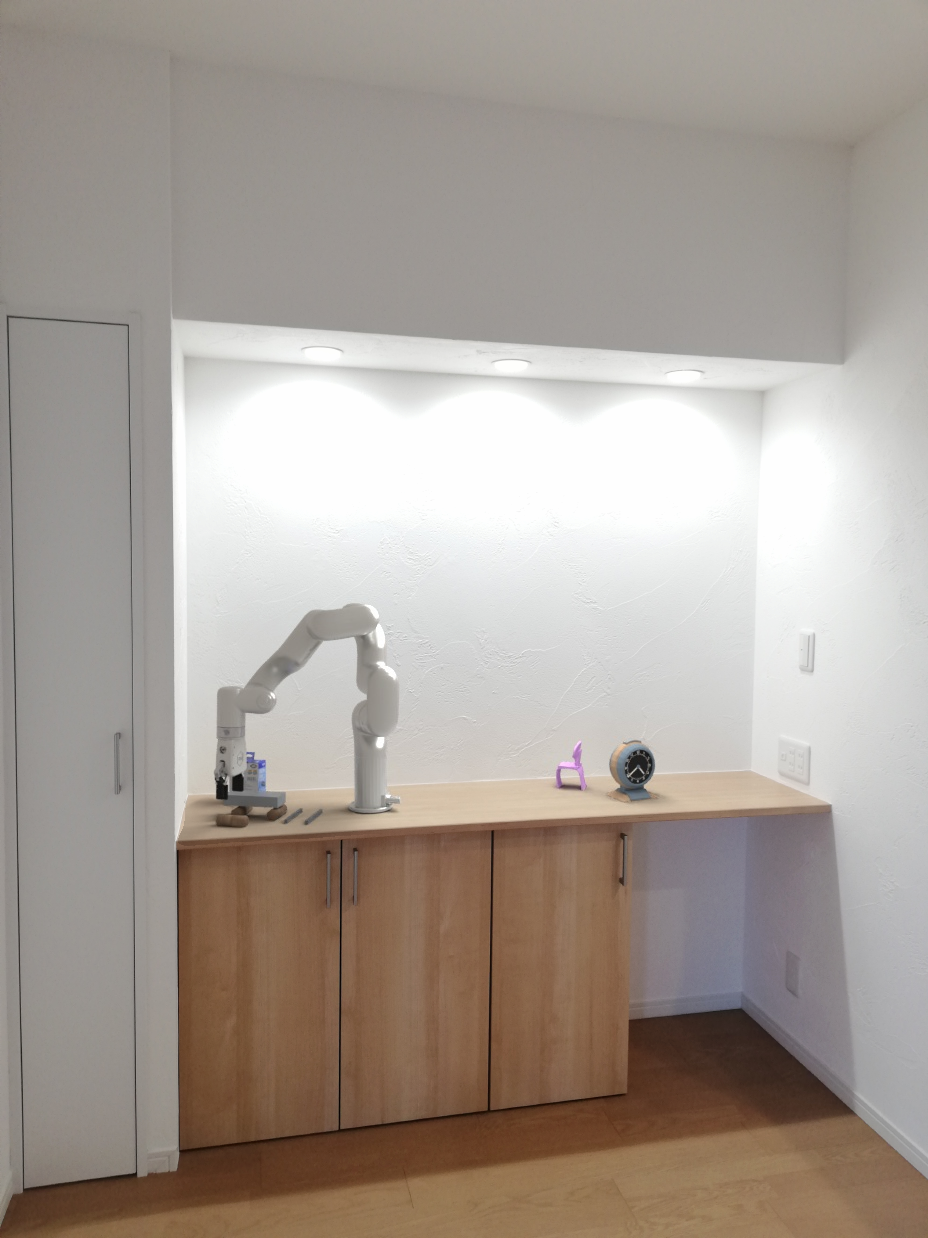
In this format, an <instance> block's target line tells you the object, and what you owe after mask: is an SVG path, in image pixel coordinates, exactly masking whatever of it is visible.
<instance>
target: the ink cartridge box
mask: <svg viewBox="0 0 928 1238" xmlns="http://www.w3.org/2000/svg"><path fill="white" fill-rule="evenodd" d="M246 755H251V756H247V769H246V770H245V771H244V773H245V775H244V790H250V791H267V789H266V787H267V785H266V784H267V780H266V779H267V768H266V767H267V766H266V765H267V762H266V761H267V760H266V759H255V755H256V752H255V751H246ZM228 782H229V783H228V792H230V791H231V790H232V777H231V776H229V779H228Z"/></svg>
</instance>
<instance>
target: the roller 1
mask: <svg viewBox="0 0 928 1238" xmlns="http://www.w3.org/2000/svg"><path fill="white" fill-rule="evenodd" d="M215 824H216V826H220V827H221V826H222V827H223V826H224V827H240V828H246V827H248V825H249V817H248V815H244V816H243V815H231V814H224V813H223V814H219V813H218V814H217V816H216V818H215Z"/></svg>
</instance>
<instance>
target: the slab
mask: <svg viewBox="0 0 928 1238" xmlns="http://www.w3.org/2000/svg"><path fill="white" fill-rule="evenodd" d="M286 797H287V795H286V791H269V790H266V791H250V790H244V791H242V792H238V791H232V790H231V791H230V792H229V791H228V799H227V800H223V806H227V807H229V806H230V807H238V806H247V807H253V808H271V809H273V808H278V807H280V806H281V805H283V804H286V802H287V801H286Z"/></svg>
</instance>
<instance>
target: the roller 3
mask: <svg viewBox="0 0 928 1238" xmlns="http://www.w3.org/2000/svg"><path fill="white" fill-rule="evenodd" d="M287 812H288V806H287V804H286V803H284V804H283V805H281V806H280V807H278V808H271V809H270V810H268V811H267V812H266V815H265V816H266V819H267V820H268V821H269V822H270V821H272V822H274V821H276V820H277V819H279V818H280V817H281V816H283V815H284V814H286V813H287Z"/></svg>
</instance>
